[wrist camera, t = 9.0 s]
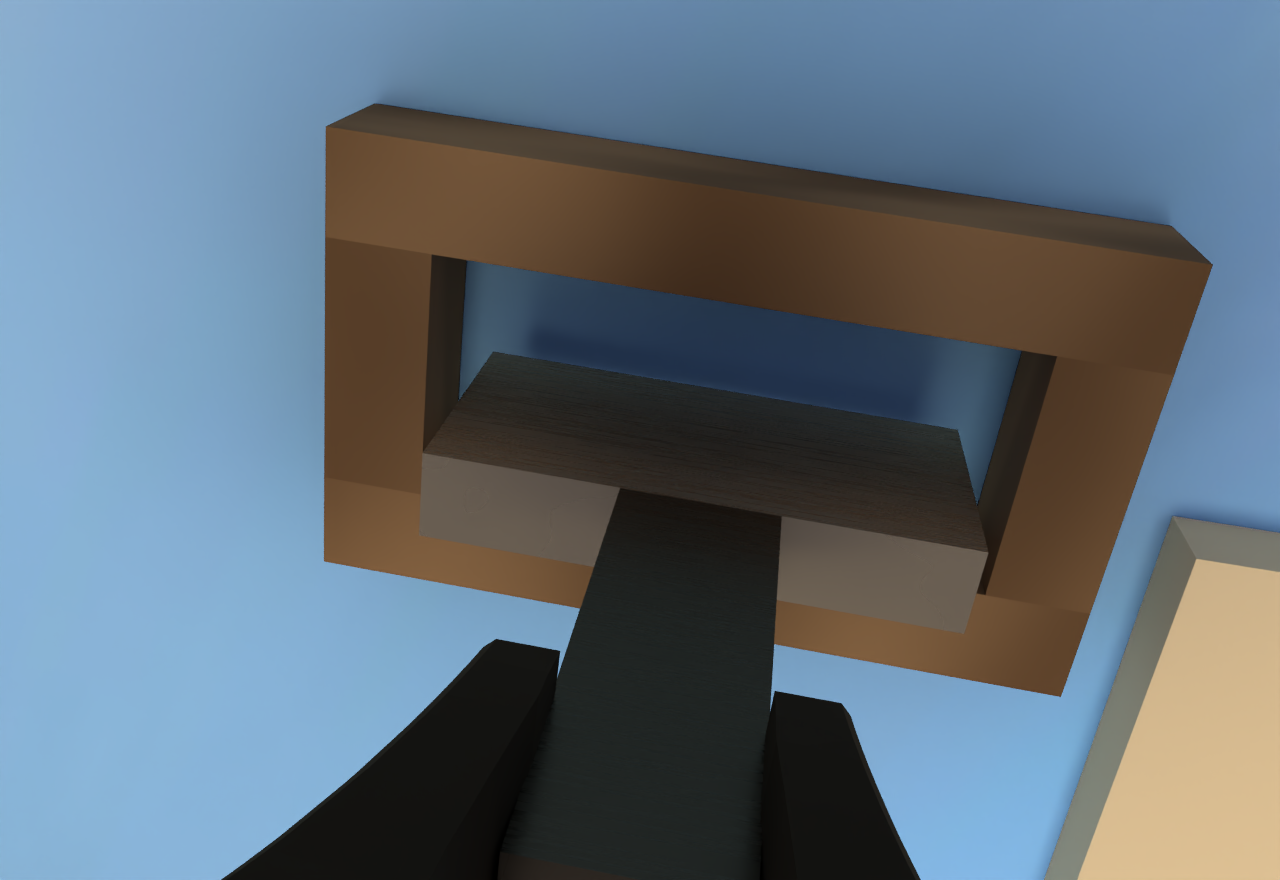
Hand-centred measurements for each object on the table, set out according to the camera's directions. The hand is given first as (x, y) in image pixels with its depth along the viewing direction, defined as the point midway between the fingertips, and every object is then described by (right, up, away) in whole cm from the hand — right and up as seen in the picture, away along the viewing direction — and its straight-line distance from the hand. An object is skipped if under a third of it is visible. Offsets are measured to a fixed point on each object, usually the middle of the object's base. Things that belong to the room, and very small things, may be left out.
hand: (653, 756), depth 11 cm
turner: (+1, +3, +7) cm, 8 cm away
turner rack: (+1, +4, +8) cm, 9 cm away
